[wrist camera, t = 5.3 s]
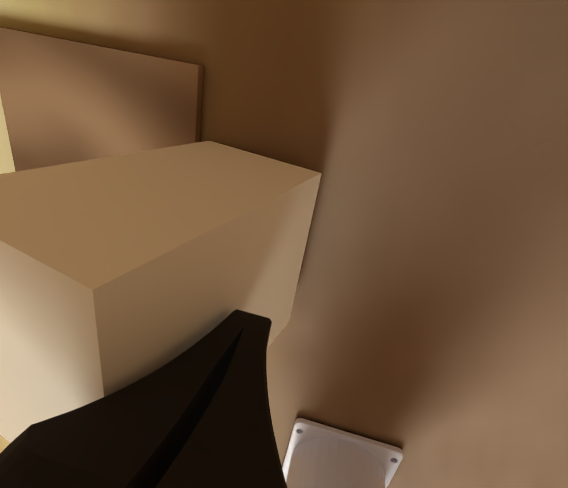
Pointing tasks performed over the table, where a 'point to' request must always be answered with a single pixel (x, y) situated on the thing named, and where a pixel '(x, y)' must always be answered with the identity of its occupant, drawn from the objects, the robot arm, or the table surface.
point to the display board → (92, 100)
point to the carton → (138, 266)
